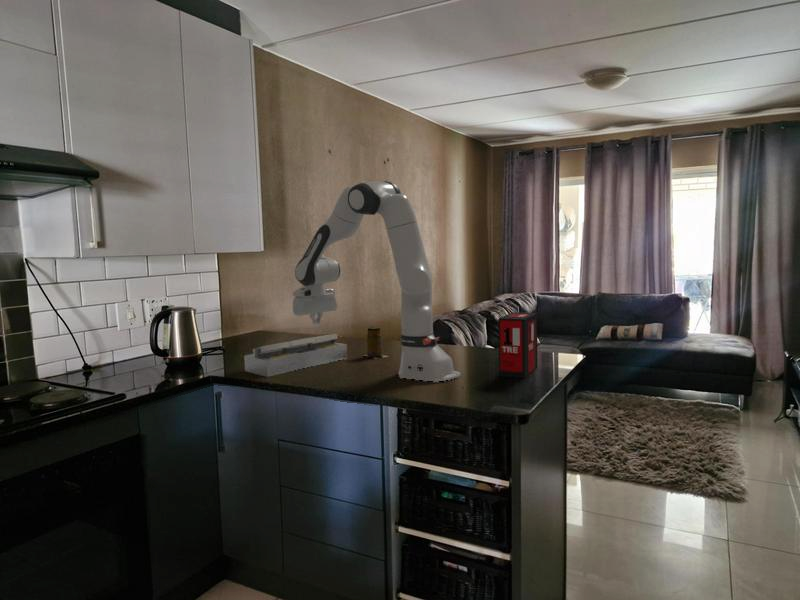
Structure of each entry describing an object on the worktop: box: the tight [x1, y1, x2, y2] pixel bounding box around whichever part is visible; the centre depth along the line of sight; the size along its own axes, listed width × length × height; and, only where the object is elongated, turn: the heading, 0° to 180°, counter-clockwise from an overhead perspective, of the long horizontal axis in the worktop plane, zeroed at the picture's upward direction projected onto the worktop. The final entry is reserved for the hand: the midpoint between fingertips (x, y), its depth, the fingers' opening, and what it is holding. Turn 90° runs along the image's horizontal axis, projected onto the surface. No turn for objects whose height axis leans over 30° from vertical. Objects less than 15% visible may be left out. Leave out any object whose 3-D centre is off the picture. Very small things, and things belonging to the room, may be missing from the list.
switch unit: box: [243, 339, 348, 378], centre depth 217 cm, size 15×38×9 cm, turn 137°
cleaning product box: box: [498, 311, 538, 379], centre depth 194 cm, size 16×9×20 cm, turn 152°
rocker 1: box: [252, 341, 289, 354], centre depth 208 cm, size 9×10×2 cm
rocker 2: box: [287, 336, 315, 348], centre depth 216 cm, size 9×10×2 cm
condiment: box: [365, 326, 389, 360], centre depth 228 cm, size 7×8×12 cm
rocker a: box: [313, 333, 339, 343], centre depth 225 cm, size 9×10×2 cm
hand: (316, 324), depth 227 cm, fingers closed
